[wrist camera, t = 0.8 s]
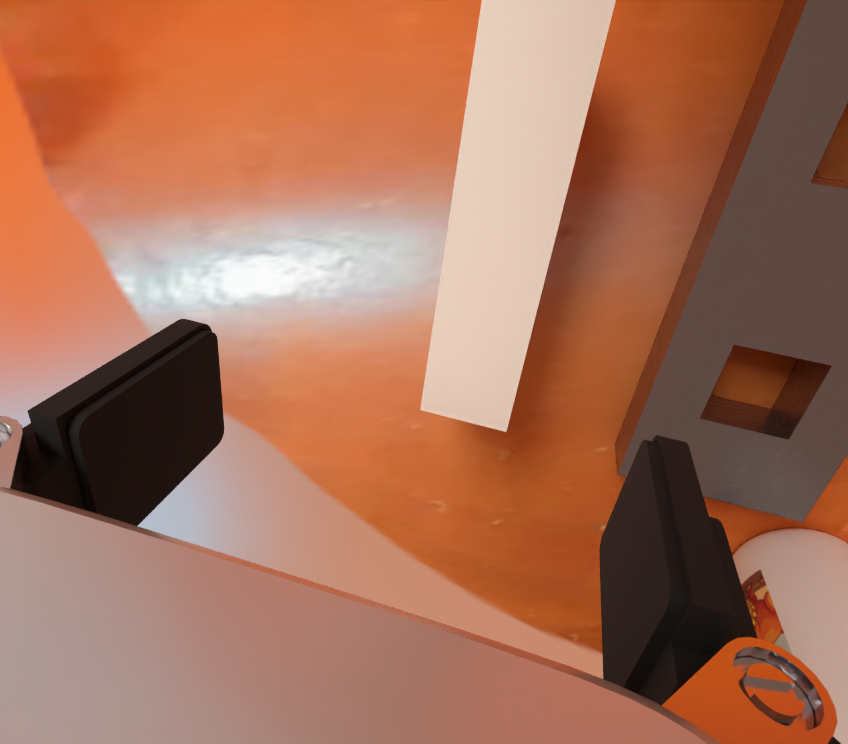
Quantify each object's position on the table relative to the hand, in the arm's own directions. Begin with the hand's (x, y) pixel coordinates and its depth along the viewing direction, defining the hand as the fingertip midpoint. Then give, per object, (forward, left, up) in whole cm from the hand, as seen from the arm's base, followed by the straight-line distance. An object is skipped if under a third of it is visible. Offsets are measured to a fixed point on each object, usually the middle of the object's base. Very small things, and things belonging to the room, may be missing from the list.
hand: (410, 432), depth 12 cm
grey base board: (-1, +14, -21) cm, 25 cm away
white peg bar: (-1, 0, -21) cm, 21 cm away
